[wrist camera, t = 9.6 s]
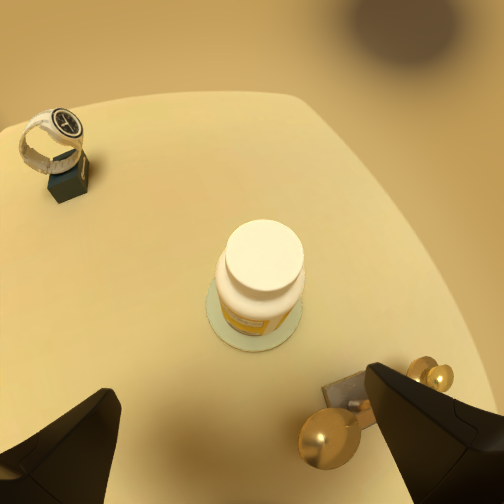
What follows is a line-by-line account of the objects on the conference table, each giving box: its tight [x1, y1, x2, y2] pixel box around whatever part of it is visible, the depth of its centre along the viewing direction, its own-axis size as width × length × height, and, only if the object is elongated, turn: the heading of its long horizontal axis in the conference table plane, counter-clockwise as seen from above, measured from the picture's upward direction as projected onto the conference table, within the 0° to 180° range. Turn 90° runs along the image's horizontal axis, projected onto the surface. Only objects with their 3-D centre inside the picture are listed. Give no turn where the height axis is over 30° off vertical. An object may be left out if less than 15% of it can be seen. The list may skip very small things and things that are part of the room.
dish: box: [206, 278, 302, 352], centre depth 23 cm, size 8×8×1 cm
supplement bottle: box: [215, 220, 305, 337], centre depth 18 cm, size 5×5×10 cm
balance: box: [298, 356, 454, 470], centre depth 16 cm, size 5×13×8 cm, turn 105°
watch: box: [19, 108, 89, 204], centre depth 24 cm, size 6×8×11 cm
